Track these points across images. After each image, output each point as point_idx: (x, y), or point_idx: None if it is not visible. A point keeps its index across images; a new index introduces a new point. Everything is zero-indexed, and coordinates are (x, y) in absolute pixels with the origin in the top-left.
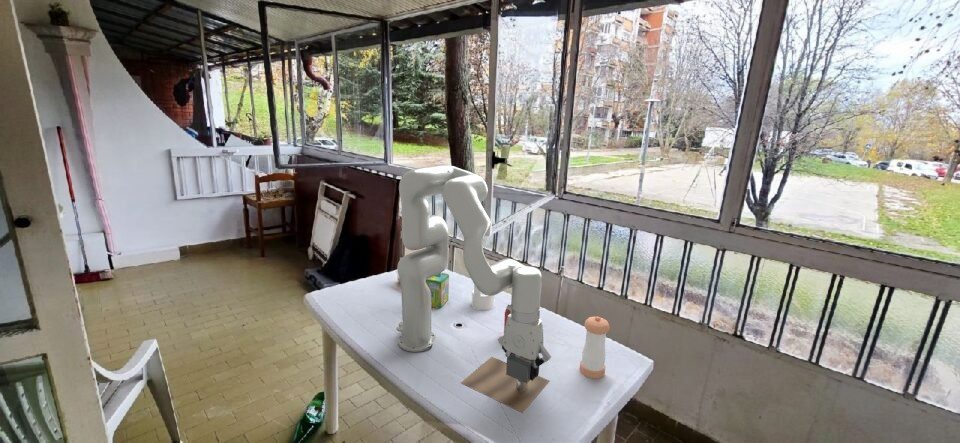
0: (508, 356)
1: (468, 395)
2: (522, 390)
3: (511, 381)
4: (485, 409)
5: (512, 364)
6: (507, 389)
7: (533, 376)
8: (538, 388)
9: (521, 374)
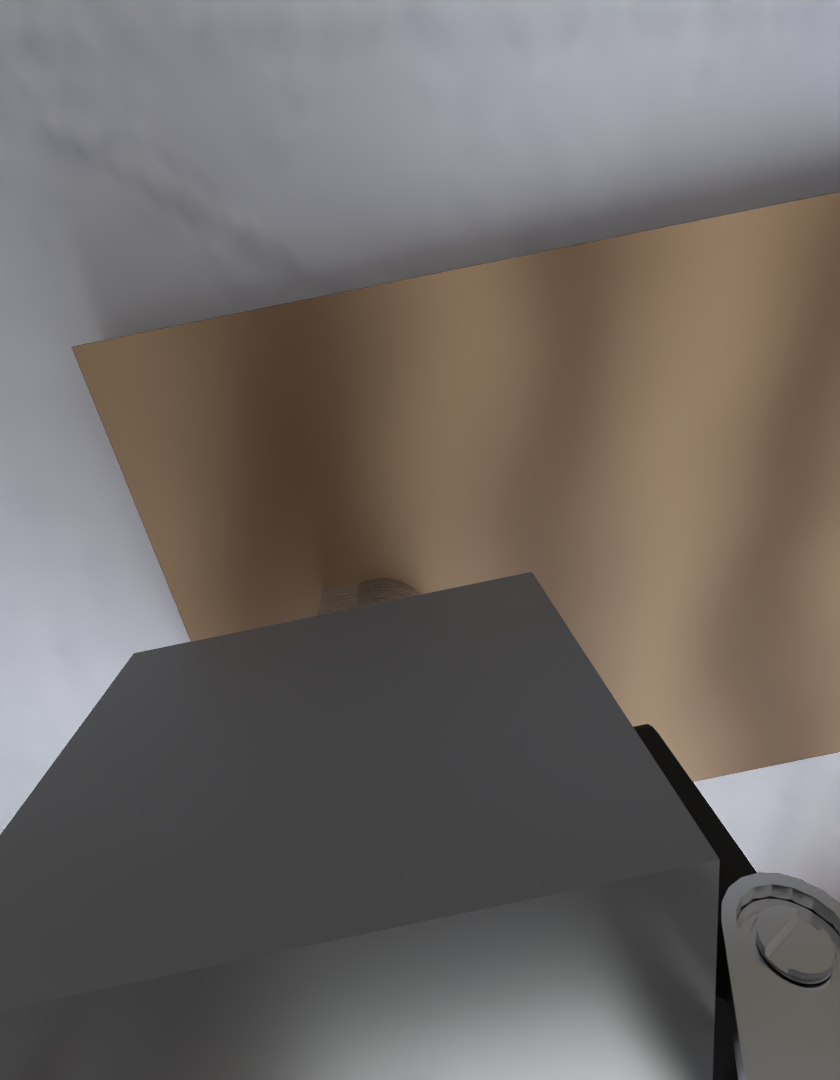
0: (734, 919)
1: (772, 145)
2: (327, 603)
3: None
4: (469, 112)
5: (452, 785)
6: (471, 512)
7: None
8: None
9: (206, 713)
